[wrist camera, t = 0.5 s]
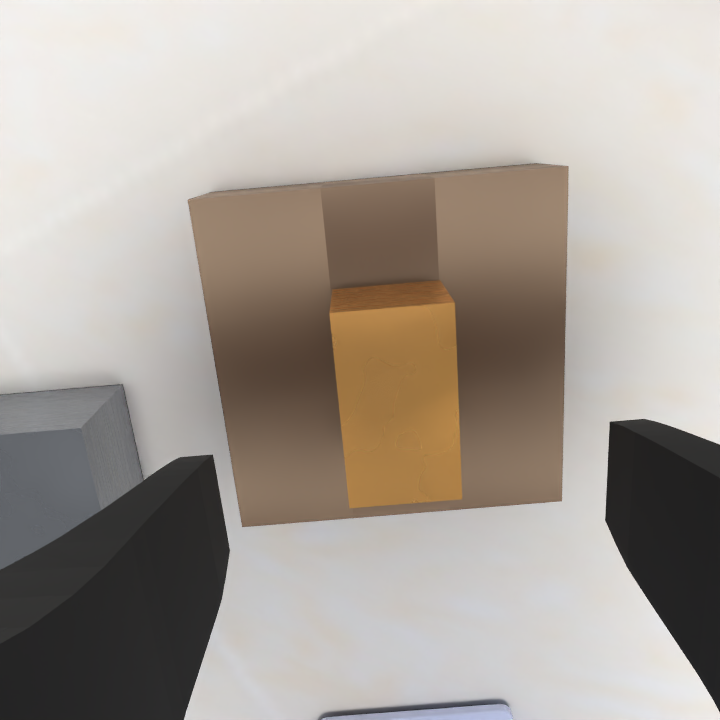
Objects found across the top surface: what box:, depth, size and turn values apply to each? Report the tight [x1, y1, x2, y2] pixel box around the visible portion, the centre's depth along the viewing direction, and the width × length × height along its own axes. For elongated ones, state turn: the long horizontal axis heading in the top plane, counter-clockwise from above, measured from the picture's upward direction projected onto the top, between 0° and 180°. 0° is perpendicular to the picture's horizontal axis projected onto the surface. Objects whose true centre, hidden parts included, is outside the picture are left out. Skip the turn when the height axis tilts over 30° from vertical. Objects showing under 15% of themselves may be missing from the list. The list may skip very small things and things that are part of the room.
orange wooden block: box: [329, 280, 462, 508], centre depth 18 cm, size 5×3×6 cm, turn 5°
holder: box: [188, 163, 568, 527], centre depth 20 cm, size 10×10×3 cm
